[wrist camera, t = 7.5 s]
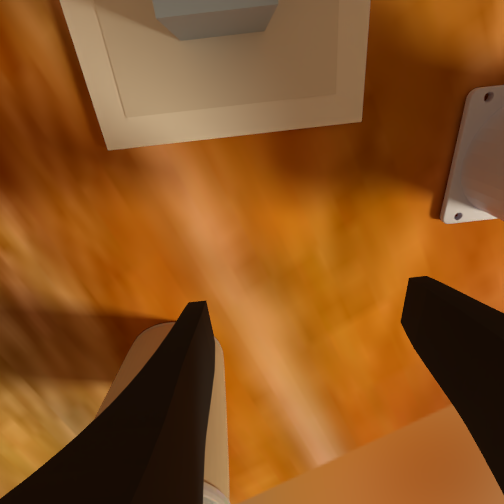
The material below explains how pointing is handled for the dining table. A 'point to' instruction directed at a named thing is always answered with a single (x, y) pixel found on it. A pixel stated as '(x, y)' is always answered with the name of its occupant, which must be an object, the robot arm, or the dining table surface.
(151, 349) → the coffee cup
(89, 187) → the dining table surface
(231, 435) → the dining table surface
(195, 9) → the block
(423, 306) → the robot arm
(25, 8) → the dining table surface
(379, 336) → the dining table surface
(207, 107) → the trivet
